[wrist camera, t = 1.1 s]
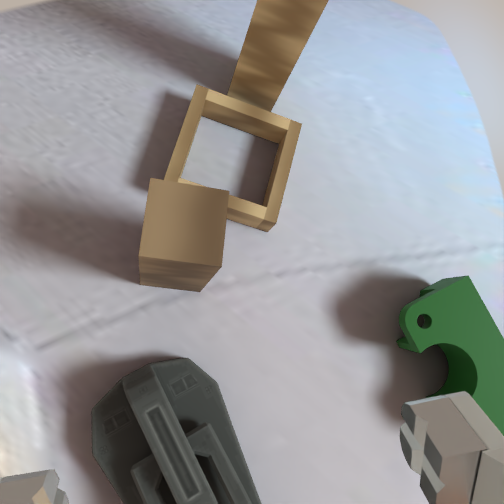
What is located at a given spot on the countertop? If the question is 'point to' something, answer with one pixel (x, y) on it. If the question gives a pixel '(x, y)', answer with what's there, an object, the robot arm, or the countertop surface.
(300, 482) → the countertop surface
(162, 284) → the wooden block
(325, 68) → the countertop surface
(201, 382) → the zipper pull
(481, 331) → the clamp
